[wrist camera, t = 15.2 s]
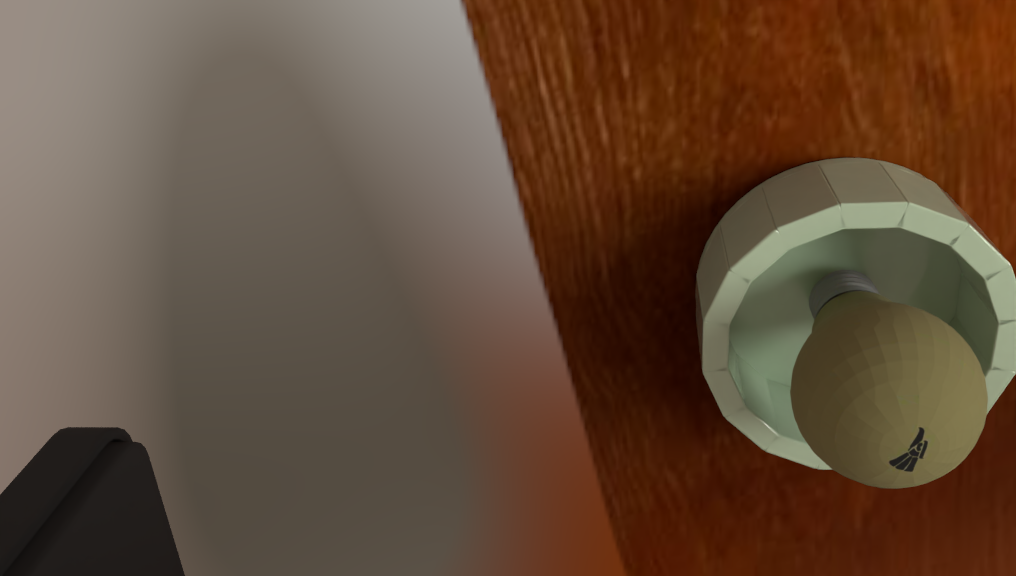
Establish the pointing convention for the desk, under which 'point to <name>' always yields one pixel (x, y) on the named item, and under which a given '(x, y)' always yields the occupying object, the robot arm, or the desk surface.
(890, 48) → the desk surface
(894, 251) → the bowl
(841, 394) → the light bulb
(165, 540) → the robot arm
